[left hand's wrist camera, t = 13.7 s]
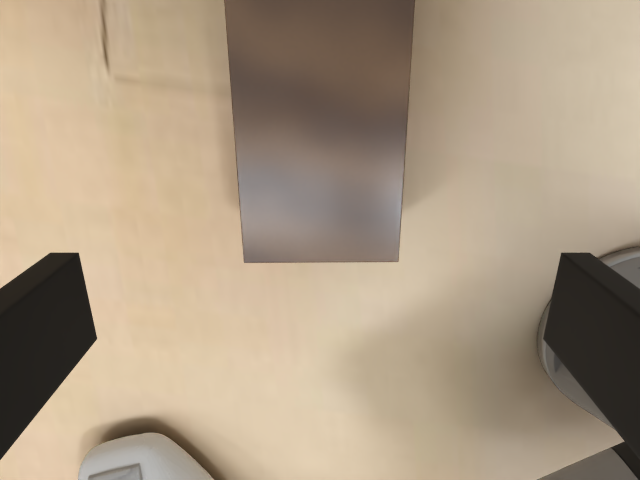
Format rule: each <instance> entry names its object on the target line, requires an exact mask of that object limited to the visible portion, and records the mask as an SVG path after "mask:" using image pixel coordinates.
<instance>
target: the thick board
mask: <svg viewBox="0 0 640 480" xmlns="http://www.w3.org/2000/svg"><path fill="white" fill-rule="evenodd" d="M224 3H225V16H226V29H227V43H228V56H229V69H230V83H231V96H232V109H233V123H234V136H235V149H236V163H237V176H238V189H239V203H240V216H241V229H242V242H243V256H244V263H289V262H398V260H399V244H400V228H401V212H402V196H403V181H404V165H405V149H406V133H407V117H408V102H409V86H410V70H411V54H412V38H413V22H414V7H415V0H224Z"/></svg>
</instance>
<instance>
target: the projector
mask: <svg viewBox="0 0 640 480" xmlns="http://www.w3.org/2000/svg"><path fill="white" fill-rule="evenodd" d="M78 480H214V479H213V478H212V477H211V476H210V475H209V473H208V472H207V471H206V470H205V469H204V468H203V467H202V466H201V465H200V464H199V463H198V462H197V461H196V460H195V459H193V458H192V457H191V456H190V455H189V454H188V453H187V452H186V451H185V450H184V449H182V448H181V447H180V446H179V445H177V444H176V443H175V442H174V441H172V440H171V439H169V438H168V437H166V436H164V435H162V434H159V433H143V434H137V435H131V436H126V437H122V438H118V439H114V440H111V441H107V442H104V443H102V444H99V445H97V446H95V447H94V448H92V449H91V450H90V451H89V452H88V454H87V455H86V456H85V458H84V460H83V462H82V464H81V466H80V469H79V475H78Z"/></svg>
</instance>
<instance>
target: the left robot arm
mask: <svg viewBox="0 0 640 480" xmlns="http://www.w3.org/2000/svg"><path fill="white" fill-rule="evenodd" d="M96 340H97V336H96V331H95V327H94V322H93V318H92V313H91V308H90V304H89V299H88V294H87V290H86V285H85V280H84V276H83V271H82V266H81V262H80V257H79V253H49V254H48V255H47V256H45V257H44V258H42V259H41V260H40V261H38V262H37V263H35V264H34V265H33V266H31V267H30V268H28V269H27V270H26V271H24V272H23V273H21V274H20V275H19V276H17V277H16V278H14V279H13V280H12V281H10V282H9V283H8V284H6V285H5V286H3V287H2V288H1V289H0V460H1V458H2V457H3V456H4V455H5V453H6V452H7V451H8V450H9V448H10V447H11V446H12V445H13V443H14V442H15V441H16V440H17V438H18V437H19V436H20V435H21V433H22V432H23V431H24V430H25V428H26V427H27V426H28V425H29V423H30V422H31V421H32V420H33V418H34V417H35V416H36V415H37V413H38V412H39V411H40V410H41V408H42V407H43V406H44V405H45V403H46V402H47V401H48V400H49V398H50V397H51V396H52V395H53V393H54V392H55V391H56V390H57V388H58V387H59V386H60V385H61V383H62V382H63V381H64V380H65V378H66V377H67V376H68V375H69V373H70V372H71V371H72V370H73V368H74V367H75V366H76V365H77V363H78V362H79V361H80V360H81V358H82V357H83V356H84V355H85V353H86V352H87V351H88V350H89V348H90V347H91V346H92V345H93V343H94V342H95V341H96ZM537 348H538V354H539V358H540V361H541V363H542V366H543V368H544V369H545V371H546V373H547V374H548V376H549V377H550V378H551V380H552V381H553V382H554V384H555V385H556V386H557V388H558V389H559V390H560V391H561V392H562V393H563V394H565V395H566V396H567V397H568V398H569V399H570V400H571V401H573V402H574V403H575V404H577V405H578V406H580V407H581V408H583V409H585V410H586V411H588V412H589V413H591V414H592V415H594V416H595V417H597V418H598V419H600V420H601V421H603V422H604V423H606V424H607V425H609V426H610V427H612V428H613V429H615V430H616V431H617V432H618V433H619V435H620V436H621V437H622V438H623V440H624V441H625V442H623V443H620V444H618V445H616V446H614V447H611V448H608V449H606V450H604V451H602V452H599V453H597V454H595V455H592V456H590V457H588V458H586V459H583V460H581V461H579V462H576V463H574V464H572V465H570V466H567V467H565V468H563V469H560V470H558V471H556V472H554V473H551V474H549V475H547V476H544V477H542V478H540V479H538V480H640V247H635V248H629V249H625V250H621V251H617V252H615V253H612V254H609V255H607V256H604V257H602V258H600V259H598V258H596V257H595V256H593V255H592V254H591V253H561V257H560V262H559V266H558V271H557V276H556V280H555V285H554V290H553V294H552V299H551V301H550V302H549V304H548V306H547V308H546V309H545V311H544V314H543V316H542V319H541V322H540V325H539V330H538V337H537Z"/></svg>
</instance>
